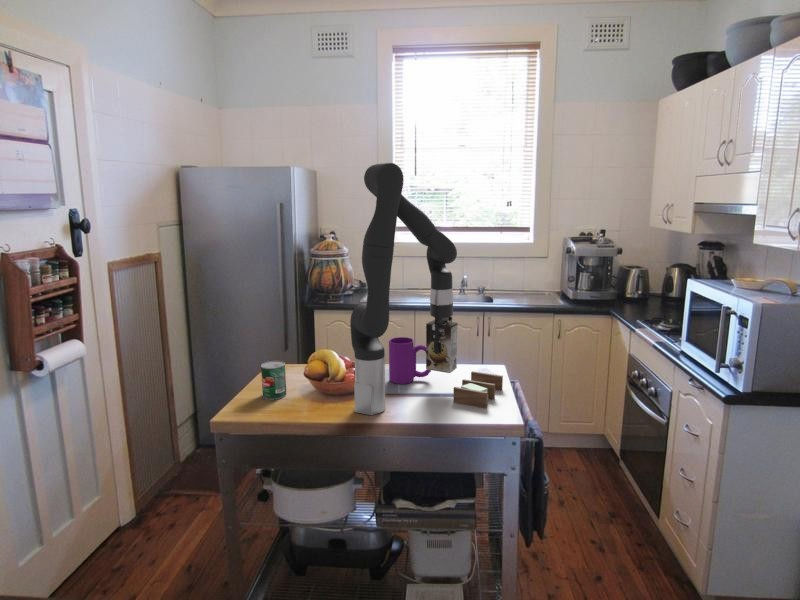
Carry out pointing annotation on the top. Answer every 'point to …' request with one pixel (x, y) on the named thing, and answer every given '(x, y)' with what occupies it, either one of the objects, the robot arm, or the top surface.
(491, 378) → the rack
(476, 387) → the offcut upper
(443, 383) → the top surface
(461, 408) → the top surface
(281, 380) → the canned tomato
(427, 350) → the coffee box
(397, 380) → the mug
